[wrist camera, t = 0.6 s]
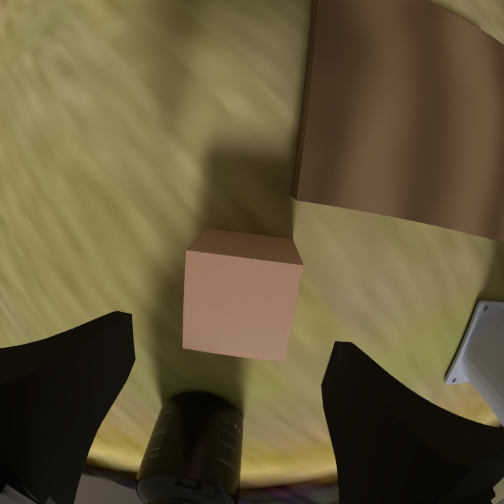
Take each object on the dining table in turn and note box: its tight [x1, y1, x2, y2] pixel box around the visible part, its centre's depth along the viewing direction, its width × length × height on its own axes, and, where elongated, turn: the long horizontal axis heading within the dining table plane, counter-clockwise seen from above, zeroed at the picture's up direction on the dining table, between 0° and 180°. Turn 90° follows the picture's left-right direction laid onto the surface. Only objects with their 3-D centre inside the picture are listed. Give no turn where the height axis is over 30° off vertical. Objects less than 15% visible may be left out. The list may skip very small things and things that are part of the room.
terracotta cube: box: [183, 228, 304, 362], centre depth 15 cm, size 5×5×5 cm
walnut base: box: [291, 0, 504, 242], centre depth 13 cm, size 14×14×3 cm
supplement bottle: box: [135, 391, 243, 504], centre depth 15 cm, size 7×7×12 cm
